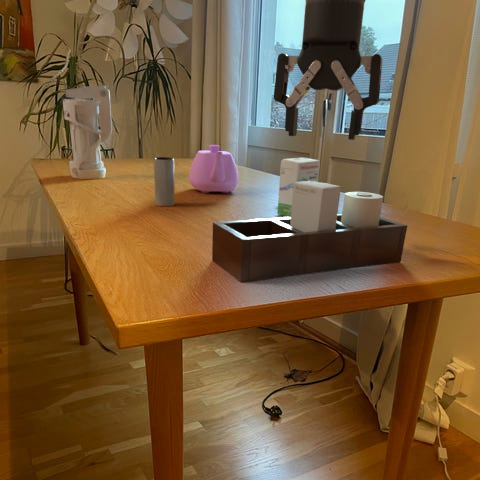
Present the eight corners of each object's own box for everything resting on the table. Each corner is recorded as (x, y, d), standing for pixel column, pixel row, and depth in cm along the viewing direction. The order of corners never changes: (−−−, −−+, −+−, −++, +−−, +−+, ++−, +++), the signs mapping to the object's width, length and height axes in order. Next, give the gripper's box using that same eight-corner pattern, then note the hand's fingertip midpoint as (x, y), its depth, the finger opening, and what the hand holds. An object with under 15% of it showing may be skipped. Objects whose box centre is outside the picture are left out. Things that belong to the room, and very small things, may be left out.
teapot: (186, 184, 138) (186, 141, 133) (232, 185, 140) (233, 142, 135) (193, 197, 120) (193, 148, 115) (245, 198, 122) (247, 149, 117)
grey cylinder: (154, 206, 109) (152, 159, 104) (156, 202, 113) (155, 156, 109) (173, 206, 109) (173, 159, 105) (175, 202, 113) (174, 157, 109)
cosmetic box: (285, 258, 76) (292, 181, 71) (304, 254, 79) (311, 180, 74) (314, 268, 72) (323, 188, 67) (332, 264, 75) (342, 185, 70)
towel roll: (374, 253, 81) (384, 193, 77) (371, 263, 76) (382, 199, 71) (339, 249, 83) (347, 189, 78) (334, 258, 77) (342, 195, 73)
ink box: (294, 218, 103) (299, 161, 98) (276, 214, 106) (280, 159, 101) (315, 213, 109) (321, 159, 104) (298, 209, 112) (302, 157, 107)
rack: (359, 245, 85) (364, 211, 83) (400, 262, 77) (407, 225, 75) (211, 260, 74) (212, 222, 71) (240, 282, 65) (242, 239, 63)
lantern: (68, 179, 138) (58, 83, 128) (72, 173, 148) (63, 84, 137) (114, 179, 141) (108, 85, 130) (115, 174, 150) (109, 86, 140)
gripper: (273, -2, 60) (266, 136, 67) (390, -5, 56) (370, 142, 62) (287, 9, 66) (280, 133, 73) (393, 6, 62) (375, 139, 69)
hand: (321, 137), depth 68 cm, fingers open, 8 cm apart
